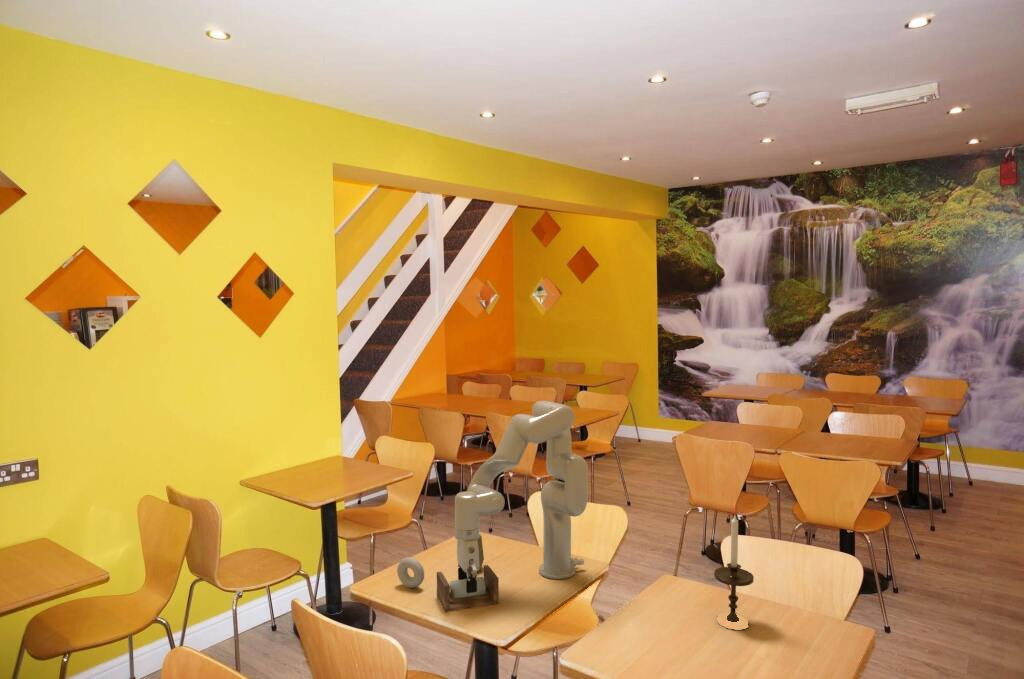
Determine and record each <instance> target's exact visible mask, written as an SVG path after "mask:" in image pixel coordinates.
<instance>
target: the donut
mask: <svg viewBox="0 0 1024 679" xmlns="http://www.w3.org/2000/svg"><path fill="white" fill-rule="evenodd" d="M408 569H410V570H411V571H412V573H413V576H411V575H410V574H409V572H408ZM424 569H425V568H424V566H423V565H422V563H421V562H420V561H419V560H418V559H416V558H415V557H412V556H411V557H410V556H407V557H405V558H403V559H401V560H400V561H399V563H398V565H397V570H396V572H397V577H398V579H399V581H400V583H401V584H403V585H404V586H405V587H407V588H411V589H415V588H417V587H419V586H420V585H422V583H423V582H424V579H425V570H424Z"/></svg>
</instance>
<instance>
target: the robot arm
mask: <svg viewBox="0 0 1024 679" xmlns="http://www.w3.org/2000/svg"><path fill="white" fill-rule="evenodd" d="M531 413H532V415H530V414H526V413H518V414H515V415H514V416H512V418H511V419H510V421H509V423H508V425H507V427H506V429H505V432H504V433H503V436H502V437H501V440H500V442H499V443H498V446H497V448H496V449H495V452H494V454H493V455H491V456H490V457H489V458H487V459H486V460H485V461H484V462H483V463H482V464H481V465H480V466H479V467H478V469H477V470H476V471H475V473H474V474H473V477H472V478H471V480H470V483H469V485H468V488H467V489H466V490H467V491H460V492H458V493H457V494H455V497H454V538H455V539H456V540H457V541H456V542H457V543H456V557H457V558H456V559H457V564H458V565H457V579H458V580H462V579H467V580H466V592H467V593H473V592H477V577H478V572H479V571H480V570H481V569H480V566H479V548H478V540H477V539H478V538H479V534H480V516H490V515H491V516H492V515H497V514H499V513H500V512H501V511H502V510H503V509H504V507H505V501H506V500H505V497H504V496H503V494H502V493H501V492H499V491H497V490H496V489H493V488H491V487H490V486H491V484H492V482H493V481H494V480H495V478H496V477H498V475H499V474H501V473H503V472H506V471H507V470H512V469H513V468H514V469H515V468H516V467H517V466H519V465H520V463H521V461H522V459H523V456H524V453H525V451H526V450H527V447H528V445H529V443H530V444H534V445H535V444H537V445H539V444H542V443H545V442H546V459H545V469H546V472H547V474H548V475H549V476H551V477H552V478H555V479H558V480H549V481H547V482H546V483H545V484H544V485H543V486H542V488H541V491H540V501H541V506H542V515H543V543H542V544H543V550H542V551H543V552H542V553H543V555H542V556H543V563H542V564H541V565H540V566H539V567H538V572H539V574H540V575H541V576H542V577H545V578H548V579H551V580H563V579H569V578H572V577H573V576H575V574H576V566H581V565H585V560H584V558H579V559H578V557H577V556H576V557H572V519H571V517H579V516H581V515H582V514H583V513H584V512H585V510H586V508H587V506H588V505H587V504H588V499H589V498H588V497H589V478H590V477H589V474H590V472H589V471H590V470H589V466H588V463H587V461H586V460H585V458H584V457H582V456H580V455H578V454H575V453H573V449H572V447H573V446H572V442H573V441H572V432H571V430H570V429H571V427H573V425H574V422H575V419H576V415H575V411H574V410H573V408H571V406H569V405H567V404H563V403H557V402H554V401H548V400H539V401H536V402H534V404H533V405H532V409H531ZM559 480H561V481H559ZM563 481H564V482H563ZM468 569H471V570H468ZM479 569H480V570H479Z"/></svg>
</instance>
